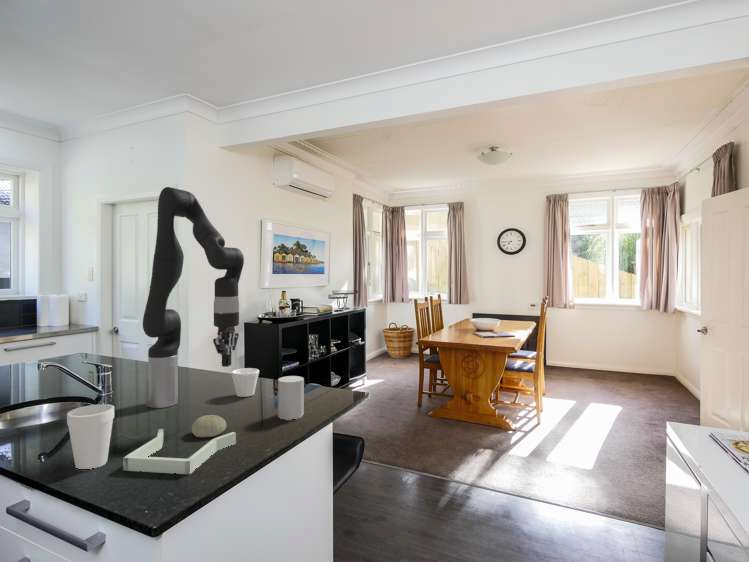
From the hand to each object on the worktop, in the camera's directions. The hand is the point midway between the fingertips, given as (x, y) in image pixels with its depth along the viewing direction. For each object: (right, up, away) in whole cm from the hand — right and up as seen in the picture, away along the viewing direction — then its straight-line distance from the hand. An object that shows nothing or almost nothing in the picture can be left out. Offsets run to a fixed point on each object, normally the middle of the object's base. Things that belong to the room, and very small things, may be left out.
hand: (226, 365), depth 131 cm
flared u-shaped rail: (-3, -17, -26) cm, 31 cm away
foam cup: (-21, -18, -31) cm, 41 cm away
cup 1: (-2, -17, +27) cm, 32 cm away
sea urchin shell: (-1, -18, -11) cm, 21 cm away
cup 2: (+19, -17, +4) cm, 26 cm away
